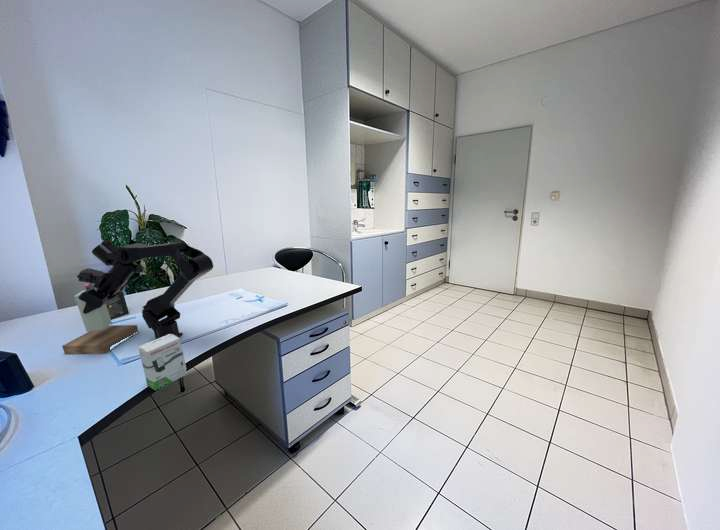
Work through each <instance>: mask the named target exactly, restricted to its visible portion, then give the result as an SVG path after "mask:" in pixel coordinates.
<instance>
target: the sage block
mask: <svg viewBox="0 0 720 530" xmlns="http://www.w3.org/2000/svg"><path fill="white" fill-rule="evenodd" d="M94 290H97V289H94ZM84 291H86V290H85V289H84V290H82V291H80V292H78V293H76V294H75V295H74V300H75V303H76V306H77V308H78V311H79V315H80V316H81V319H82V322H83V325H84V328H85V331H86V333H87V332H89V331H95V330H102V329H105V328H106V327H107V326H108V325H111V324H112V322H113V321H112V319H111V318H110V315H109V312H108V309H107V306H106V304H105V305H103V306H102V307H100V308H97V309H95V310H93V311H91V312H89V313H87V314H84V313H83V310H84V307H85V305H86V302H84V301H82V300H80V299H79V298H78V297H79V296H80V295H81V294H82V293H83V292H84Z"/></svg>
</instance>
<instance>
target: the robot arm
mask: <svg viewBox="0 0 720 530" xmlns="http://www.w3.org/2000/svg"><path fill="white" fill-rule="evenodd" d="M91 254H92V255H93V256H94V257H95V258H97V259H98V260H99V261H100V262H101V263H103V264H104V265H105V266H107V267H109V266H110V267H111V268H110V269H109V271H107V272H104V271H102V270H98V269H93V268H89V267H88V268H85V269H82V270H80V272H79V273H78V274H77V275H76V277H77V279H78V281H79V282H84V283H86V284H89V283H93V284H94V285H93V286H94V287H96V288H98V289H97V290H94V289H88V290H86V291H84V292H83V293H82V294H81V295H80V296H79V297H78V298H79V299H80V300H82V301H84V302H86V305H85V307H84V310H83V313H84V314H87V313H89V312H91V311H93V310H95V309H97V308H100V307H102V306H103V305H105V304H106V303H107V301H108V300H110V299H111V298H113V297H115V296H117V295H118V294H119V292H122V291H123V292H124V290H125V289H126V288H127V286H128V285H127V282H128V281H129V278H130V277H132V275H133V274H137V273H144V270H143V265H142V264H137V263H136V262H139V261H142V260H145V259H151V258H153V259H154V258H160V257H161V258H163V257H171V258H173V261H174V264H175V265H176V267H177V268H178V269H179V275H178V276H177V278H176V279H175V280H174V281H173V282H172V284H170V285H169V286H168V288H167V289H166V290H165V291H164V292H163V293H162V294H159V295H158V296H155V297H152V298H151V299H149V300H147V301H146V303H145V305H142V310H141V314H142V316H141V317H142V318H143V320H144V321H145V324H146V326H147V328H148V329H151V330H152V331H153V333H154V338H155V340H156V339H158V338H161V337H163V336H166V335H168V334H173V335H175V336H177V337H179V336H180V337H181V336H183V335H184V334H183V332H180V331H179V330H180V329H179V327H178V326H179V325H178V321H177V320H179V319H181V312H180V311H179V310H178V309H176V308H175V306H176V305H175V303H176V302H177V300H179V298H181V296H182V295H183V294H184V293H185V292H186V291H187V290H188V289H189V287H191V285H193V283H194V282H195V281H196V280H198V279H199V278H201V277H202V276H204V275H206V274H207V273H209V272H211V271H212V270H213V268H214V262H213V260H212V258H211V257H210V256H209V255H207V254H205V253H204V252H203V251H201V250H200V249H198V248H195V247H192V246H190V245H189V244H187V243H186V242H185V241H181V240H180V241H176V242H169V243H162V244H161V243H160V244H153V245H152V244H151V245H147V244H146V243H139V242H138V243H137V242H135V243H133V244H128V245H127V244H126V245H122V246H119V247H116V246H115V245H114V244H113V242H111V241H110V240H102V241H101V243H100V244H98V245H96V246H95V247H94V248H93V249H92V250H91ZM183 255H184V256H187V257H189V258H188V259H185V258H184V257H183ZM119 290H120V291H119ZM118 291H119V292H118ZM180 337H179V338H180Z"/></svg>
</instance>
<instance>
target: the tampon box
mask: <svg viewBox="0 0 720 530" xmlns="http://www.w3.org/2000/svg"><path fill="white" fill-rule="evenodd" d="M93 285H94V284H93V283H85V284H84V285H83V287H84V290H88V289H98V288H96V287H94V286H93ZM119 291H120V290H119ZM119 291H118V292H119ZM106 306H107V309H108V312H109V315H110V318H111V320H113V319H118V318H120V317H122V316H127V315H129V314H130V312H129V309H128V305H127V301H126V298H125V293H124V290H123V291H122V292H119V294H118V295H117V296H115V297H113V298H111V299H110V300H108V301H107V303H106Z"/></svg>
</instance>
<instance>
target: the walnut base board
mask: <svg viewBox="0 0 720 530" xmlns="http://www.w3.org/2000/svg"><path fill="white" fill-rule="evenodd" d="M136 332H138V333H139V328H138V325H137V324H125V325H123V324H121V325H111V324H110V325H108V326H107V327H106V328H105V329H102V330H95V331H89V332H87V331H86V333H83V334H82V335H80V336H78V337H76V338H75V339H72V340H71V341H69V342H67V343H65V344H63V345H62V350H63V353H64V355H85V354H86V355H98V354H99V355H106V354H107V353H109V352H111V351H110V347H111V346H112V345H114V344H116V343H118V342H120V341H121V340H123V339H125V338H127V337H129V336H131V335H133V334H134V333H136Z"/></svg>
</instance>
